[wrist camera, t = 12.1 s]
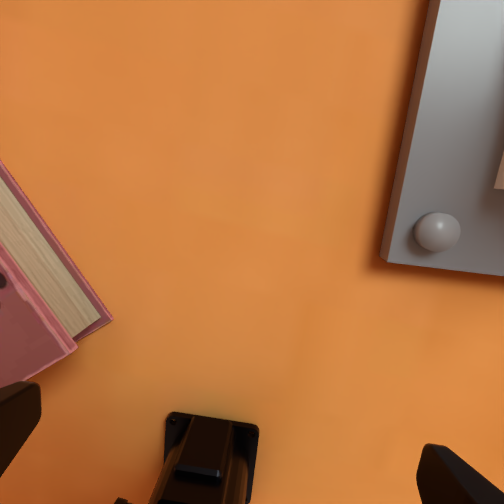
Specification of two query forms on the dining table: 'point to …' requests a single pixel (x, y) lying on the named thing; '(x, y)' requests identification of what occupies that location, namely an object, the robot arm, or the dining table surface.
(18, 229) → the book
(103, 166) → the dining table surface
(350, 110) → the dining table surface
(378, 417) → the dining table surface
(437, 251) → the tower base
